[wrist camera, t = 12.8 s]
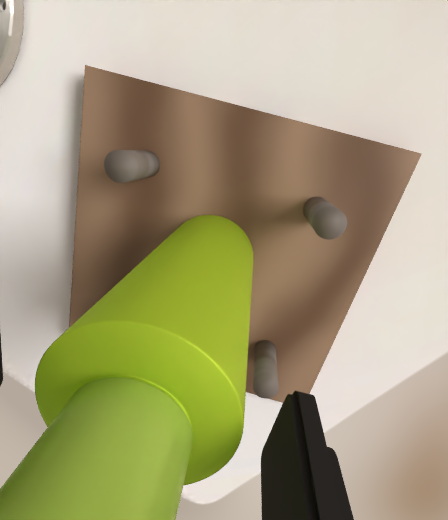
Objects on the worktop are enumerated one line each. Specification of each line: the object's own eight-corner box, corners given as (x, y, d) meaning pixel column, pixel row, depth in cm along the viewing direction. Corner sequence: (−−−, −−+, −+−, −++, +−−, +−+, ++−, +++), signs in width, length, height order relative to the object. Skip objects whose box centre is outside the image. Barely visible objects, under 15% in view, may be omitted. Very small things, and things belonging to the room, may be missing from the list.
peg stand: (78, 330, 26) (33, 374, 21) (98, 71, 18) (35, 40, 13) (300, 393, 25) (310, 455, 20) (409, 153, 18) (468, 154, 13)
